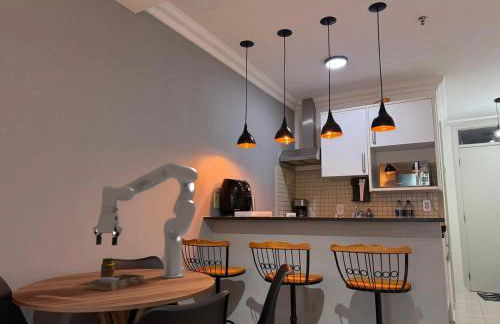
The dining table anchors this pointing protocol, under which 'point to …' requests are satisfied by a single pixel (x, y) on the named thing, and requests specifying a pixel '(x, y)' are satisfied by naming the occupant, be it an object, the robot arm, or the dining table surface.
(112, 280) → the painted block
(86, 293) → the dining table surface
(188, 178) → the robot arm
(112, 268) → the condiment
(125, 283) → the caddy
